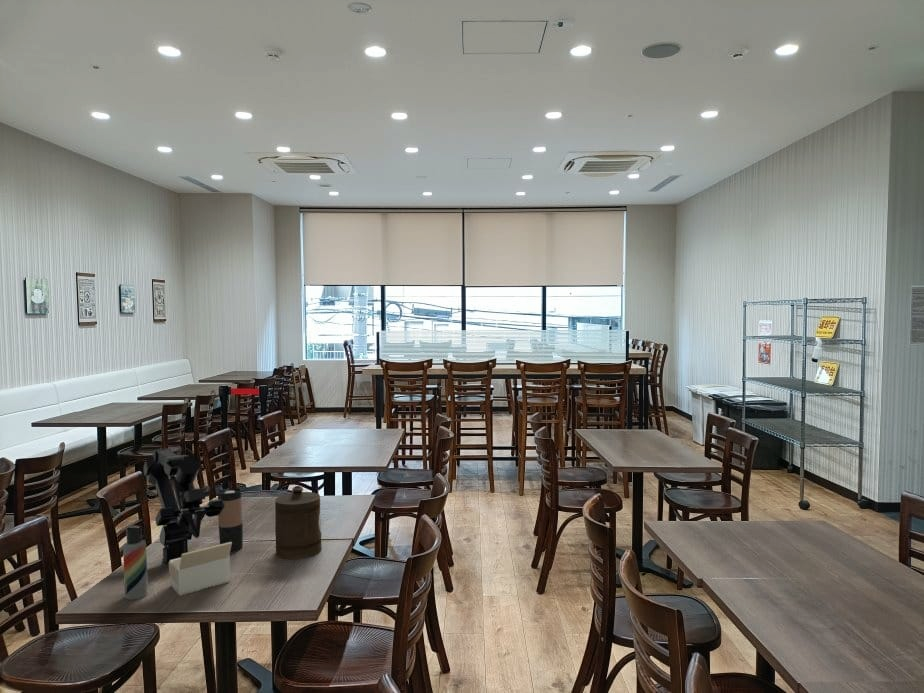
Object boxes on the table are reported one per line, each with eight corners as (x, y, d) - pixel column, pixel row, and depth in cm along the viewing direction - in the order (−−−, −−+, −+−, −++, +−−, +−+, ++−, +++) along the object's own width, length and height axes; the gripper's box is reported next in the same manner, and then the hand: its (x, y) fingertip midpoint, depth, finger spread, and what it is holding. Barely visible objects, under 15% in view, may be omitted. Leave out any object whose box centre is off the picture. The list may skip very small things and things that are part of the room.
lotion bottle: (121, 597, 170) (118, 527, 170) (141, 589, 175) (138, 521, 174) (131, 602, 167) (128, 530, 167) (151, 594, 172) (149, 524, 171)
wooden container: (331, 548, 205) (329, 483, 204) (296, 563, 193) (294, 494, 192) (300, 540, 213) (299, 478, 212) (266, 554, 201) (264, 488, 200)
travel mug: (235, 553, 202) (233, 494, 201) (214, 552, 203) (212, 493, 203) (247, 545, 209) (245, 488, 209) (227, 544, 211) (225, 487, 210)
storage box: (168, 585, 177) (167, 560, 177) (220, 571, 187) (219, 547, 187) (177, 596, 170) (176, 570, 170) (231, 581, 180) (230, 556, 179)
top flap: (181, 553, 168) (182, 555, 167) (231, 541, 176) (231, 543, 176) (179, 568, 170) (179, 569, 170) (228, 555, 179) (228, 557, 179)
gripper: (160, 481, 176) (172, 529, 169) (223, 473, 189) (237, 517, 182) (150, 502, 182) (161, 549, 174) (212, 492, 195) (225, 536, 188)
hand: (197, 537), depth 179 cm, fingers closed
